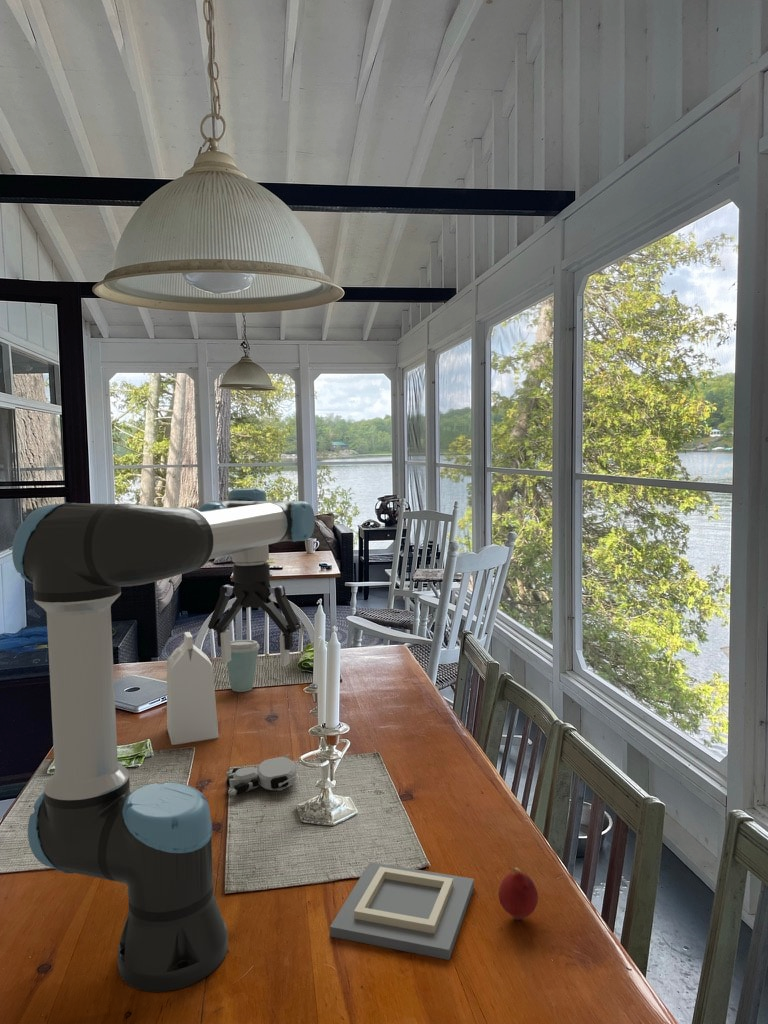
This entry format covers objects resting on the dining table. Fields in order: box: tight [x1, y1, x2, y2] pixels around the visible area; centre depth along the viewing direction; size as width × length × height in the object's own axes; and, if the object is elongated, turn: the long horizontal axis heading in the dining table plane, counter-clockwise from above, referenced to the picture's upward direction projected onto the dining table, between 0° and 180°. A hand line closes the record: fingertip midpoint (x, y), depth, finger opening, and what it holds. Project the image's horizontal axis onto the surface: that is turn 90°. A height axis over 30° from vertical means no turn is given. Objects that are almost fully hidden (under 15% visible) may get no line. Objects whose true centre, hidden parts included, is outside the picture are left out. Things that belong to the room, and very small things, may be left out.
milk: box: [166, 631, 220, 746], centre depth 189 cm, size 12×12×26 cm
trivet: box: [329, 861, 475, 961], centre depth 114 cm, size 18×18×3 cm
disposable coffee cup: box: [226, 639, 261, 693], centre depth 225 cm, size 11×11×15 cm
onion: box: [498, 867, 539, 920], centre depth 111 cm, size 6×6×8 cm
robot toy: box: [225, 753, 298, 796], centre depth 158 cm, size 12×4×15 cm
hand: (255, 663), depth 153 cm, fingers open, 13 cm apart
